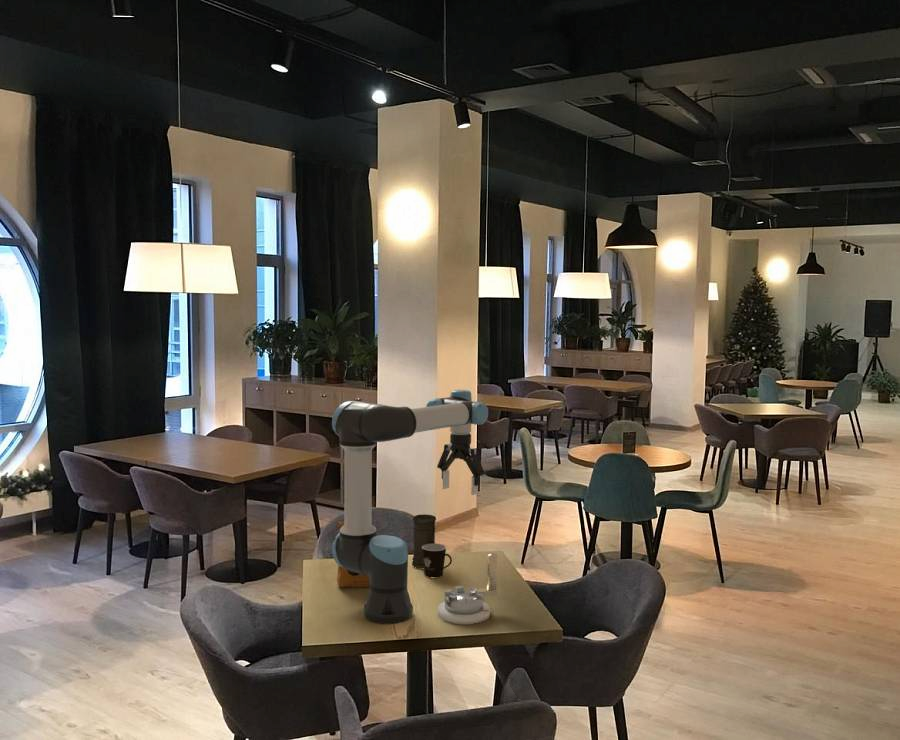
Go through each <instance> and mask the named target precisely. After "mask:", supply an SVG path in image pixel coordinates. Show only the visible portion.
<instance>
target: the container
mask: <svg viewBox="0 0 900 740" xmlns="http://www.w3.org/2000/svg"><path fill="white" fill-rule="evenodd" d="M412 521H413V551H412V552H413V554H412V555H413V557H412V562H411V566H412V567H413V566H414V567H413V568H415V567H416V568H415V569H418V568H424V564H423V554H422V546H423V545H426V544H436V527H435V526H436V525H435V524H436V521H437V518H436V515H432V514H416V515H414V516H413V517H412Z"/></svg>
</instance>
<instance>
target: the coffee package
mask: <svg viewBox="0 0 900 740" xmlns="http://www.w3.org/2000/svg"><path fill="white" fill-rule="evenodd" d="M337 523H338V524H337V528H338V534H339V533H340V528H341V527H342V526H343V525H344V521H338V522H337ZM336 576H337V578H336V583H337V586H338V587H339V588H340V587H343V588H369V585H370V584H369V576H365V575H362V574H359V573H356V572H353V571H348V570H346V569H345V568H343V567H341V566H339V565H338V566H337V575H336Z"/></svg>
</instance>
